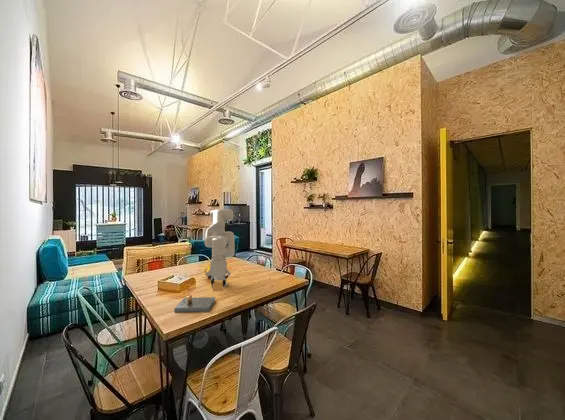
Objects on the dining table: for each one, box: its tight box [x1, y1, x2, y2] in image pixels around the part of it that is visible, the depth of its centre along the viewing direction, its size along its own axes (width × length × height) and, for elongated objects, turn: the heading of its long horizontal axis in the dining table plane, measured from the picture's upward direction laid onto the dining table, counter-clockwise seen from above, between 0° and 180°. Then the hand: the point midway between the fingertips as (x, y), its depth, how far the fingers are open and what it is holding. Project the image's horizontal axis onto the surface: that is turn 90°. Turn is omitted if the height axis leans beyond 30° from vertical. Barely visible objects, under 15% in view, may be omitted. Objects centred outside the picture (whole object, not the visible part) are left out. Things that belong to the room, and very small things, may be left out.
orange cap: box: [212, 280, 225, 292], centre depth 151 cm, size 6×6×5 cm
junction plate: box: [173, 294, 216, 313], centre depth 149 cm, size 16×20×6 cm
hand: (218, 285), depth 150 cm, fingers closed on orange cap, 6 cm apart
